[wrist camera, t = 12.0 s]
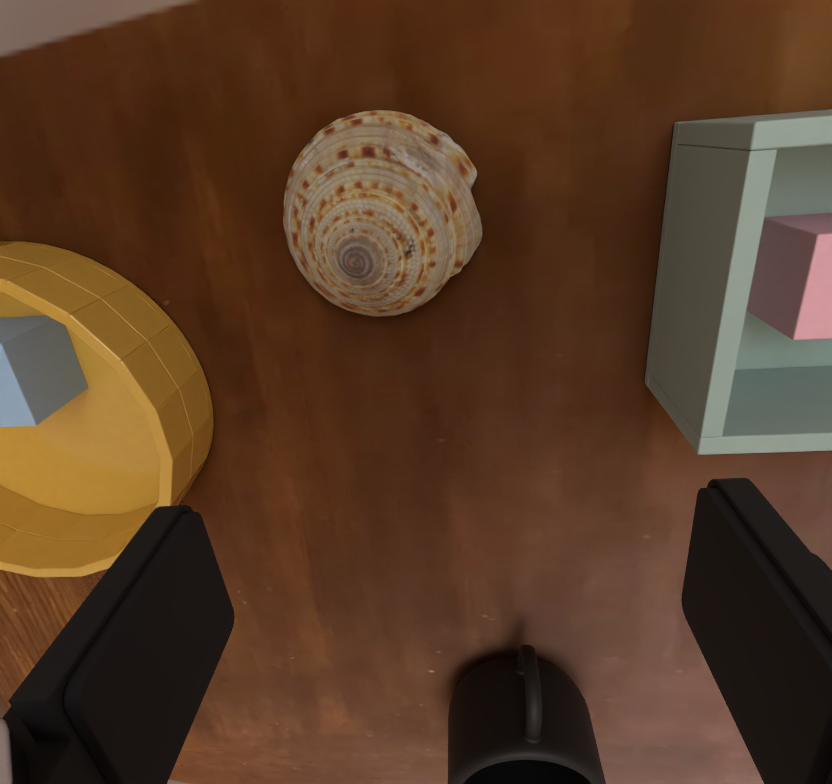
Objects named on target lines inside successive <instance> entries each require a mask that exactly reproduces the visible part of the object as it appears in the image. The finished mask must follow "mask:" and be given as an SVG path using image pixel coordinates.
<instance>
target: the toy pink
mask: <svg viewBox="0 0 832 784" xmlns="http://www.w3.org/2000/svg"><path fill="white" fill-rule="evenodd" d="M746 311H748V312H750V313H751V314H753V315H754V316H756V317H757V318H759V319H761V320H762V321H764V322H765V323H767V324H769V325H770V326H772V327H773V328H775V329H776V330H778V331H780V332H781V333H783V334H784V335H786V336H787V337H789V338H791V339H792V340H809V339H829V338H832V213H818V214H803V215H789V216H774V217H764V221H763V226H762V232H761V237H760V242H759V247H758V252H757V258H756V263H755V268H754V273H753V278H752V284H751V289H750V294H749V299H748V304H747V310H746Z"/></svg>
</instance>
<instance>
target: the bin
mask: <svg viewBox="0 0 832 784" xmlns="http://www.w3.org/2000/svg"><path fill="white" fill-rule="evenodd" d="M818 213H832V109H829V110H817V111H805V112H792V113H780V114H768V115H756V116H744V117H732V118H720V119H708V120H696V121H684V122H676V123H675V124H674V130H673V139H672V148H671V156H670V165H669V174H668V182H667V191H666V200H665V208H664V217H663V226H662V234H661V243H660V252H659V260H658V269H657V278H656V286H655V295H654V304H653V312H652V321H651V330H650V338H649V347H648V356H647V365H646V373H645V382H644V383H645V384H646V386H647V387H648V388H649V390H650V391H651V392H652V394H653V395H654V396H655V398H656V399H657V400H658V402H659V403H660V404H661V406H662V407H663V408H664V410H665V411H666V412H667V414H668V415H669V416H670V418H671V419H672V420H673V422H674V423H675V424H676V426H677V427H678V428H679V430H680V431H681V433H682V434H683V435H684V437H685V438H686V439H687V441H688V442H689V443H690V445H691V446H692V447H693V449H694V450H695V451H696V453H697V454H699V455H705V454H736V453H767V452H798V451H829V450H832V338H829V339H809V340H792V339H791V338H789V337H787V336H786V335H784V334H783V333H781V332H780V331H778V330H776V329H775V328H773V327H772V326H770V325H769V324H767V323H765V322H764V321H762V320H761V319H759V318H757V317H756V316H754V315H753V314H751V313H750V312H748V311H746V310H747V304H748V299H749V294H750V289H751V284H752V278H753V273H754V268H755V263H756V258H757V252H758V247H759V242H760V237H761V232H762V226H763V221H764V217H774V216H789V215H803V214H818Z"/></svg>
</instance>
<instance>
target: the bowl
mask: <svg viewBox="0 0 832 784" xmlns="http://www.w3.org/2000/svg"><path fill="white" fill-rule="evenodd" d="M40 315H47V316H49V317H51V318H53V319H55V320H57V321H58V322H60V323H62V324H64V325H65V326H66V329H67V331H68V334H69V337H70V340H71V342H72V345H73V348H74V350H75V353H76V356H77V358H78V361H79V364H80V366H81V369H82V372H83V374H84V377H85V380H86V382H87V385H88V389H86V390H85V391H84V392H82V393H81V394H79V395H78V396H77V397H75V398H74V399H73V400H71V401H70V402H68V403H67V404H66V405H64V406H63V407H61V408H60V409H59V410H57V411H56V412H55V413H53V414H52V415H50V416H49V417H48V418H46V419H45V420H44V421H42V422H41V423H39V424H38V425H37V426H17V427H0V570H5V571H9V572H14V573H19V574H23V575H28V576H32V577H81V576H85V575H89V574H92V573H95V572H98V571H102V570H105V569H108V568H110V567H111V565H112V564H113V563H114V561H115V560H116V559H117V557H118V556H119V555H120V553H121V552H122V551H123V549H124V548H125V547H126V545H127V544H128V543H129V542H130V540H131V539H132V538H133V536H134V535H135V534H136V532H137V531H138V530H139V528H140V527H141V526H142V524H143V523H144V522H145V520H146V519H147V518H148V516H149V515H150V514H151V513H152V511H153V510H154V509H155V508H157V507H160V506H178V505H179V503H180V502H181V500H182V499H183V498H184V496H185V495H186V493H187V492H188V491H189V489H190V488H191V486H192V484H193V482H194V480H195V479H196V477H197V475H198V474H199V472H200V471H201V469H202V467H203V465H204V463H205V461H206V459H207V456H208V453H209V450H210V446H211V442H212V436H213V426H214V421H213V405H212V400H211V395H210V390H209V386H208V383H207V380H206V378H205V375H204V372H203V369H202V367H201V365H200V363H199V361H198V359H197V357H196V355H195V353H194V351H193V349H192V348H191V346H190V344H189V343H188V341H187V340H186V338H185V337H184V335H183V333H182V332H181V331H180V330H179V328H178V327H177V326H176V325H175V323H174V322H173V321H172V320H171V318H170V317H169V316H168V315H167V314H166V313H165V312H164V311H163V310H162V309H161V308H160V307H159V306H158V305H157V304H156V303H155V302H154V301H153V300H152V299H151V298H150V297H149V296H148V295H146V294H145V293H144V292H143V291H142V290H140V289H139V288H138V287H137V286H135V285H134V284H133V283H131V282H130V281H128V280H127V279H125V278H124V277H122V276H121V275H119V274H118V273H116V272H115V271H113V270H111V269H109V268H107V267H106V266H104V265H102V264H100V263H98V262H96V261H94V260H92V259H90V258H87V257H84V256H82V255H79V254H77V253H74V252H72V251H69V250H65V249H61V248H58V247H54V246H50V245H46V244H39V243H31V242H24V241H2V242H0V318H6V317H23V316H40Z"/></svg>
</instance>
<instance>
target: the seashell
mask: <svg viewBox="0 0 832 784" xmlns="http://www.w3.org/2000/svg"><path fill="white" fill-rule="evenodd" d="M476 177H477V171H476V168H475V167H474V165H473V164H472V162H471V161H470V159H469V158H468V156H467V155H466V153H465V152H464V150H463V149H462V148H461V147H460V146H459V145H457V144H455V143H454V142H453V141H452V139H451V138H450V137H449V136H448V135H447V134H446V133H444V132H441V131H439V130H437V129H435V128H434V127H432V126H431V125H430V124H429V123H426V122H424V121H423V120H420V119H418V118H416V117H414V116H412V115H409V114H405V113H401V112H395V111H384V110H374V111H364V112H360V113H356V114H351V115H349V116H347V117H345V118H339V119H337V120H336V121H334V122H332V123H331V124H329V125H327V126H326V127H324V128H323V129H322V130H320V131H319V132H318V133H317V134H316V135H315V137H314V138H313V139H312V140H311V141H310V142H309V143H308V144H307V145H306V146H305V148H304V149H303V150H302V152H301V153H300V155H299V156H298V158H297V159H296V161H295V163H294V164H293V167H292V169H291V172H290V175H289V179H288V182H287V185H286V188H285V195H284V205H283V224H284V230H285V235H286V240H287V244H288V247H289V249H290V252H291V254H292V257H293V259H294V261H295V263H296V265H297V267H298V269H299V270H300V272H301V273H302V275H303V276H304V277H305V278H306V280H307V281H308V282H309V284H310V285H311V286H312V287H313V288H314V289H315V290H316V291H317V292H319V293H320V294H321V295H322V296H323V297H324V298H326V299H327V300H328V301H330V302H331V303H332V304H334V305H336V306H338V307H340V308H343V309H345V310H348V311H351V312H355V313H358V314H362V315H368V316H394V315H398V314H402V313H405V312H409V311H411V310H413V309H416V308H418V307H420V306H422V305H423V304H425V303H426V302H427V301H429V300H430V299H431V298H432V297H434V296H435V295H436V294H437V293H438V292H439V291H440V290H441V289H442V287H443V286H444V285H445V284H446V282H447V281H448V280H449V278H450V277H451V276H454V275H455V274H457V273H459V272H460V271H461V269H462V267H463V266H464V265H465V264H467V263H468V262H469V260H470V259H471V257H472V255H473V253H474V251H475V250H476V249H477V247H478V245H479V243H480V242H481V238H482V226H481V218H480V215H479V213H478V211H477V208H476V205H475V201H474V199H473V196H472V193H471V188H472V186H473V184H474V181H475V179H476Z"/></svg>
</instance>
